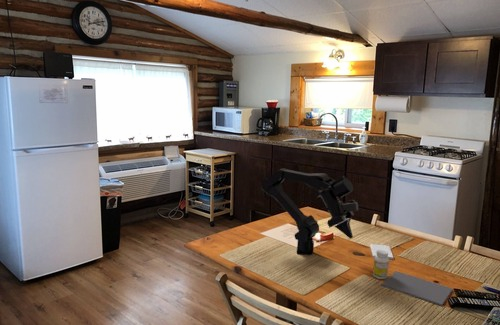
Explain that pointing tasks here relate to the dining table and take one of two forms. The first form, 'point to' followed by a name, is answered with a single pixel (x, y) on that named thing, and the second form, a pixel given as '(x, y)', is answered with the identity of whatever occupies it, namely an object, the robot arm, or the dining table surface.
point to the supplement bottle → (381, 264)
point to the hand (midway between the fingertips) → (351, 237)
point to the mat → (418, 288)
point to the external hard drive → (381, 247)
